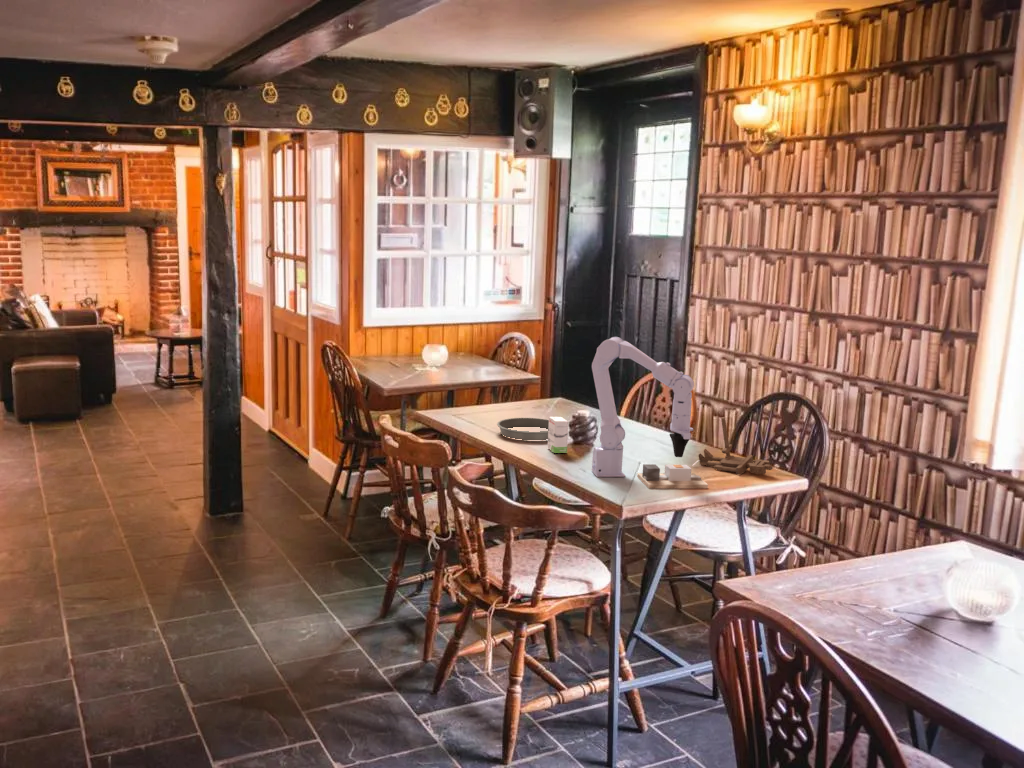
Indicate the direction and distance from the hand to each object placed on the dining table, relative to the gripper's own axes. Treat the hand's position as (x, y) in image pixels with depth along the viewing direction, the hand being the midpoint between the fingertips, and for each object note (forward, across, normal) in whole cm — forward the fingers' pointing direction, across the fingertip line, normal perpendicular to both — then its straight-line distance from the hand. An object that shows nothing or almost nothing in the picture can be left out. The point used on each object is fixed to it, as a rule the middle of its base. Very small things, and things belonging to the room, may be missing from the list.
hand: (678, 456), depth 298 cm
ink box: (+9, +40, +31) cm, 51 cm away
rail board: (+8, 0, +2) cm, 9 cm away
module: (+7, 0, 0) cm, 7 cm away
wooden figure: (+9, +14, -24) cm, 30 cm away
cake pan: (+9, +65, +37) cm, 75 cm away
